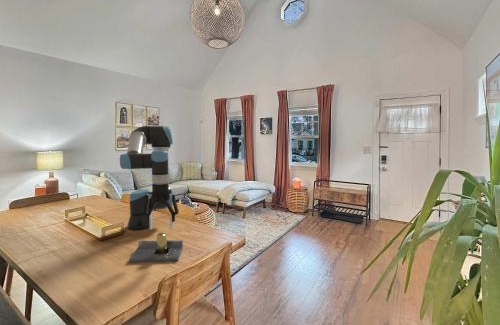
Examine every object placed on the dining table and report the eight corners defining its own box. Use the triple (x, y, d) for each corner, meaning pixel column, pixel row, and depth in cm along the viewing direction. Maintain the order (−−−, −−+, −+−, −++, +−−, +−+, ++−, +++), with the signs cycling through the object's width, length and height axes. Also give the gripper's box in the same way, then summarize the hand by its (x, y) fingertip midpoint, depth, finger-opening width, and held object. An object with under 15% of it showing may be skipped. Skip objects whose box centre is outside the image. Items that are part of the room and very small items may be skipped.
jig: (129, 262, 118) (129, 253, 118) (139, 249, 132) (139, 241, 132) (178, 261, 120) (177, 252, 120) (183, 248, 134) (182, 240, 134)
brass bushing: (155, 255, 125) (154, 235, 124) (162, 251, 129) (161, 232, 128) (162, 257, 123) (161, 237, 122) (168, 253, 127) (168, 234, 126)
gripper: (134, 184, 118) (135, 231, 120) (182, 184, 120) (182, 230, 122) (139, 181, 125) (141, 226, 128) (184, 181, 127) (185, 225, 130)
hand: (161, 228), depth 125 cm, fingers open, 9 cm apart
